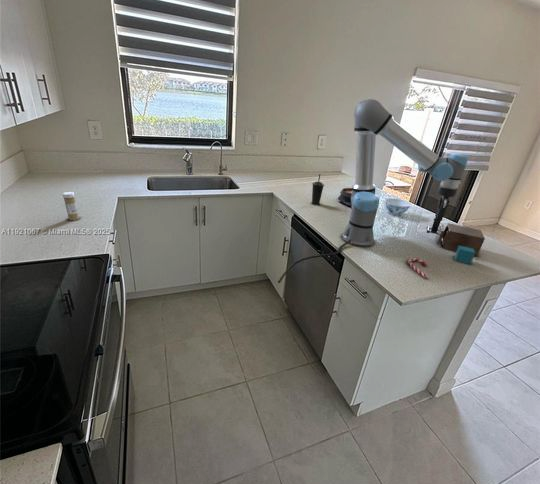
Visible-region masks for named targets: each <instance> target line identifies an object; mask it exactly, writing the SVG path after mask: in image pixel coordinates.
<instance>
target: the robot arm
mask: <svg viewBox="0 0 540 484" xmlns="http://www.w3.org/2000/svg"><path fill="white" fill-rule="evenodd" d="M353 116H354V124H353V125H354V128H353V131H354V133H355V134H356V155H355V156H356V157H355V175H354V178H355V180H354V183H353V184H352V186H351V188H352V196H351V204H352V206H351V211H350V215H349V219H348V223H347V225H346V227H345V229H344V231H343V232H342V235H341V236H342V237H341V238H342V239H343V241H344V243H342V244H341V245H340V246H339V247H338V249H337V251H335V252H333V253H323V254H316V255H311V256H306V257H303V258H300V259H298V260H296V261H294V262H293V263H292V264H290V265H289V266H288V267H287V269H286V270H285V271H284V272H283V273H282V275H281V276H280V278H279V279H278V281H277V283H278V284H281V282H282V280H283V279H284V277H285V276H286V275H287V273H288V272H289V271H290V270H291V269H292V268H293V267H294V266H296V265H297V264H299V263H301V262H303V261H306V260H310V259H315V258H321V257H331V256H336V255H339V253H340V252H341V249H342V248H343V247H345V246H346V245H348V244H350V245H354V246H357V247H370V246H372V245H373V244H374V240H375V235H374V225H375V220H376V217H377V213H378V209H379V206H380V198H379V196H378V195H377V194H376V188H377V187H376V184H374V170H375V155H376V140H377V136H381V137H382V138H383V139H385V140H386V141H387V142H388V143H390V144H391V145H392V146H394V147H395V148H396V149H398V150H399V151H400V152H401V153H403V154H404V155H405V156H406V157H408V159H410V160H411V161H413V162H414V163H415V164H416V165H417V170H418V172H422V173H428V174H429V175H430V176H431V177H432V178H433V179H435V180H437V181H440V184H439V185H440V186H439V188H438V191H437V194H438V195H440V196H441V197H439V199H438V200H439V201H438V205H437V209H436V212H435V215H434V218H433V223H432V225H431V228H432V229H430V231H431V232H436V233H437V232H438V230H439V227H440V224H441V222H442V221H443V218H444V216H445V213H446V210H447V209H448V207H449V204H450V198H454V197H456V194H457V192H458V188H459V186H460V185H461V184H462V181H461V180H462V177H463V174H464V172H465V170H466V167H467V163H468V160H469V157H468V155H466V154H462V153H450V154H449V156H448V157H441V156H439V155H438V154H437V153H436V152H435V151H433V150H432V149H431V148H430V147H428V146H427V145H426V144H424V143H423V142H422V141H421V140H419V139H418V138H417V137H416V136H414V135H413V134H412V133H411V132H409V131H408V130H407V129H405V127H403V126H402V125H400V123H398V122H397V121H396V120H394V115H393V114H391V113H390V112H389V111H388V110H387V109H386V108H385V107H384V106H383V105H382V103H381V102H379V101H378V100H376V99H372V98H368V99H363V100H362V101H360V102H359V103H358V104H357V105H356V107H355V109H354V114H353Z"/></svg>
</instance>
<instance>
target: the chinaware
mask: <svg viewBox="0 0 540 484" xmlns="http://www.w3.org/2000/svg"><path fill="white" fill-rule="evenodd" d="M384 205H385V208H386V209H387V211H388V213H389V214H390V215H392V216H395V217H396V216H401V215H402V214H405V213H406V212H407V211H408V210H409V209H410V207H411V203H410V202H409V201H406V200H403V199H399V198H386V199H385V200H384Z"/></svg>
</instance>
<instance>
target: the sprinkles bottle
mask: <svg viewBox="0 0 540 484" xmlns="http://www.w3.org/2000/svg"><path fill="white" fill-rule="evenodd" d="M62 198H63V201H64V205H65V206H64V207H65V210H66V213H67V218H68V220H69V221H77V220H79V219H80V216H79V210H78V207H77V203H76V199H75V193H74V191H65V192H62Z"/></svg>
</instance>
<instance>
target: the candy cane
mask: <svg viewBox="0 0 540 484" xmlns="http://www.w3.org/2000/svg"><path fill="white" fill-rule="evenodd" d="M413 262H417V263H418V262H419V263H421V264H422V265H423V267H426V266H427V263H426V262H425V261H424V260H423V259H421V258H416V257H412V258H409V259H408V260H407V264H408V265H409V267H410V268H411V269H413V271H415V272H416V273H417V274H419V275H420V276H421V277H423V278H424V279H427V278H428V275H427V274H425V273H424V272H423V271H421V270H420V269H419V268H418V267H416V266H415V265H414V264H413Z"/></svg>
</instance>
